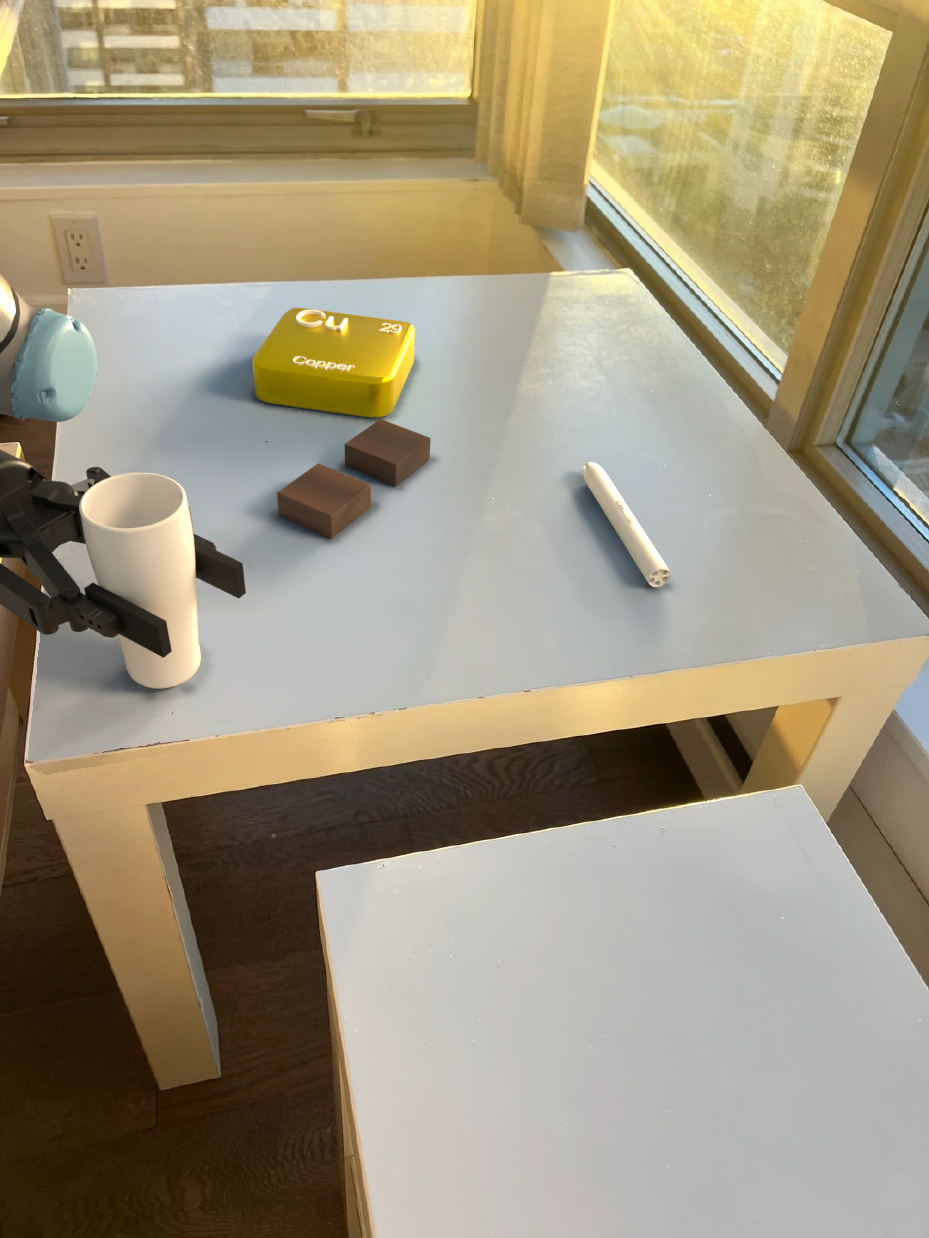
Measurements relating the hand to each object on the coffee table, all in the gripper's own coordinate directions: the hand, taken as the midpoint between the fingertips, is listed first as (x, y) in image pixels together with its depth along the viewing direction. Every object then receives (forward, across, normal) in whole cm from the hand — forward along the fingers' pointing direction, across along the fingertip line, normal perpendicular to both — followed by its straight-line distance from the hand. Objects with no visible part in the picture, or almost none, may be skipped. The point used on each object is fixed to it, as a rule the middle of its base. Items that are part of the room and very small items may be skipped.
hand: (203, 608), depth 64 cm
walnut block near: (-8, -23, -8) cm, 26 cm away
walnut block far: (-8, -33, -8) cm, 35 cm away
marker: (+15, -37, -9) cm, 41 cm away
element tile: (-22, -43, -9) cm, 49 cm away
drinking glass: (-5, 0, -8) cm, 10 cm away
